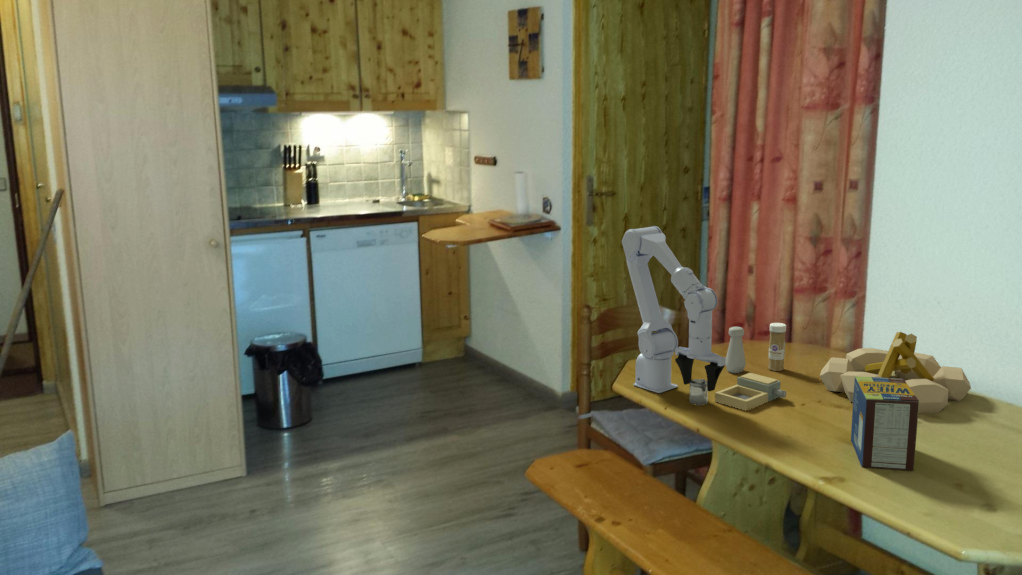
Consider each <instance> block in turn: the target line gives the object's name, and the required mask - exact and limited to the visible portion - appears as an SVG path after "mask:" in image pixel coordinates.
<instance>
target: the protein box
mask: <svg viewBox="0 0 1022 575" xmlns="http://www.w3.org/2000/svg"><path fill="white" fill-rule="evenodd" d="M918 410H919V400H918V399H917V397H916V396H915V394H914V393H913V391H912V390H911V389H910V387H909V386H908V384H907V383H906V381H905V380H904V379H903V378H899V377H890V378H882V377H862V376H855V382H854V397H853V403H852V416H851V430H850V431H851V432H850V442H851V444H852V446H853V448H854V451H855V454H856V456H857V459H858V462H859V465H860V466H861V467H862V468H870V469H886V470H899V471H914V470H915V456H916V446H917V433H918V422H919V420H918V419H919V413H918Z"/></svg>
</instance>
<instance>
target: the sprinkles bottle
mask: <svg viewBox="0 0 1022 575" xmlns="http://www.w3.org/2000/svg"><path fill="white" fill-rule="evenodd" d="M786 332H787V324H785V323H782V322H771V323H770V324H769V344H768V365H767V368H768V370H771V371H774V372H780V371H783V370H785V366H784V365H785V354H786V352H785V350H786Z"/></svg>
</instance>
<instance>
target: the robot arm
mask: <svg viewBox="0 0 1022 575" xmlns="http://www.w3.org/2000/svg"><path fill="white" fill-rule="evenodd" d="M666 237H667V236H666V235H665V233H663V231H662V230H661V228H660V227H659V226H656V225H652V226H648V227H647V226H646V227H641V228H629V229H627V230H626V231H625V233H624V235H623V237H622V239H621V245H622V248H623V251H624V255H625V262H626V266H627V270H628V273H629V277H630V280H631V284H632V287H633V288H632V289H633V291H634V294H635V299H636V302H637V306H638V310H639V313H640V317H641V321H642V325H641V327H640V328H639V329H638V331H637V336H638V337H637V338H638V349H639V352H640V354H638V356H637V358H636V361H635V373H634V374H635V382H634V383H632V384H633V386H634V387H638V388H640V389H644V390H647V391H651V392H653V393H658V394H661V393H664V392H667V391H670V390H673V389H675V388H677V387H678V386H679V385H678V384H676V383H672V356H678V357H676V358H675V361H674V362H675V363H676V364H677V366H678V368H679V371H680V373H681V378H682V381H683V385H690V384H689V382H690V380H692V378H693V376H692V374H693V364H694V361H695V360H698V361H701V362H706V363H708V364H706V365H704V369H705V374H706V381H707V389H708V392H713V391H714V390H716V386H717V383H718V379H719V377H720V375H721V373H722V372H723V370H724V368H725V367H726V365H725V363H726V356H721V355H719V354H717V353H714V352H712V343H713V342H712V340H713V338H712V337H713V336H712V335H713V333H712V331H713V310H715V309H716V308H717V307H718V302H719V301H718V297H717V294H716V292H715V290H714V289H712V288H710V287H707V286H705V285H703V284H702V282H700V280H699V279H698V278H697V276H696V275H695V274H694V271H693V270H692V269H691V268H690V267H688V266H687V267H685V266H684V267H683V265H681V263H680V262H679V260H678V259H677V257H676V256H675V254H674V253H673V251H672V249H671V248H670V247H669V245H668V244H667V242H666V241H667V238H666ZM653 256H654V258H655V259H656V260H657V261H658V263H660V264H661V265H662V266H663V267H664V268H665V270H666V271H667V272H668V273H669V274H670V275H671V277H670V282H671V284H672V285H673V286H674V287H675V289H676V290H677V291H678V293H679V294H680V295H681V296H682V297H683V299H684V301H683V304H684V307H685V310H686V312H687V318H688V347H684V346H679V339H678V336H677V333H676V332H675V331H674V329H673V327H672V324H671V323H670V322H669V321H667V320H666V319H664V318H663V316H662V315H663V314H662V311H661V308H660V304H659V301H658V297H657V293H656V290H655V289H656V288H655V285H654V282H653V278H652V275H651V272H650V267H649V264H648V263H649V262H650V260H651V258H652V257H653ZM674 352H675V353H674Z"/></svg>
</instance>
